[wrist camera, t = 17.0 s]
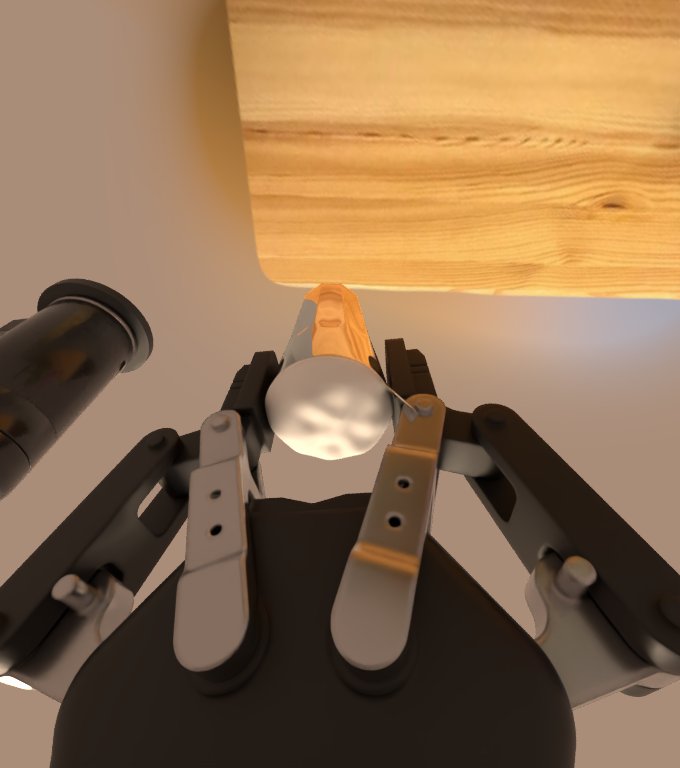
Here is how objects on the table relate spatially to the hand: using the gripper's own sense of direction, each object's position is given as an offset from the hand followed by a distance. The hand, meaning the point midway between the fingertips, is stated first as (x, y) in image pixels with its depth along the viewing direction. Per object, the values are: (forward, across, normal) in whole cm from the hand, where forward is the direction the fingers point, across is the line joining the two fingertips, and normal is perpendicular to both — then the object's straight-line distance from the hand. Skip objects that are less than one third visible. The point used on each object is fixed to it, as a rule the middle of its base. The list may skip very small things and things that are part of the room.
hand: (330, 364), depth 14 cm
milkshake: (+6, 0, 0) cm, 6 cm away
